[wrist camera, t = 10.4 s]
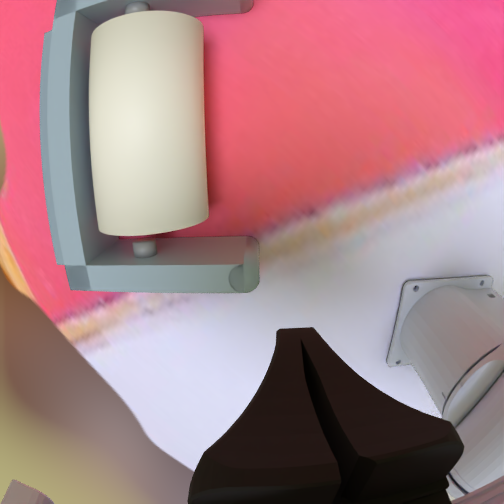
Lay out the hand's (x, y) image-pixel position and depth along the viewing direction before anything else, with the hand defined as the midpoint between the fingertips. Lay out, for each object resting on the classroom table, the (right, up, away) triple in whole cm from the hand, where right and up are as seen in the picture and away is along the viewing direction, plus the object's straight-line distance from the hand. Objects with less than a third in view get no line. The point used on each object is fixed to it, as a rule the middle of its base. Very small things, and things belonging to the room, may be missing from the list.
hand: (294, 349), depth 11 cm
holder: (-9, +12, +7) cm, 16 cm away
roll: (-7, +11, +4) cm, 14 cm away
